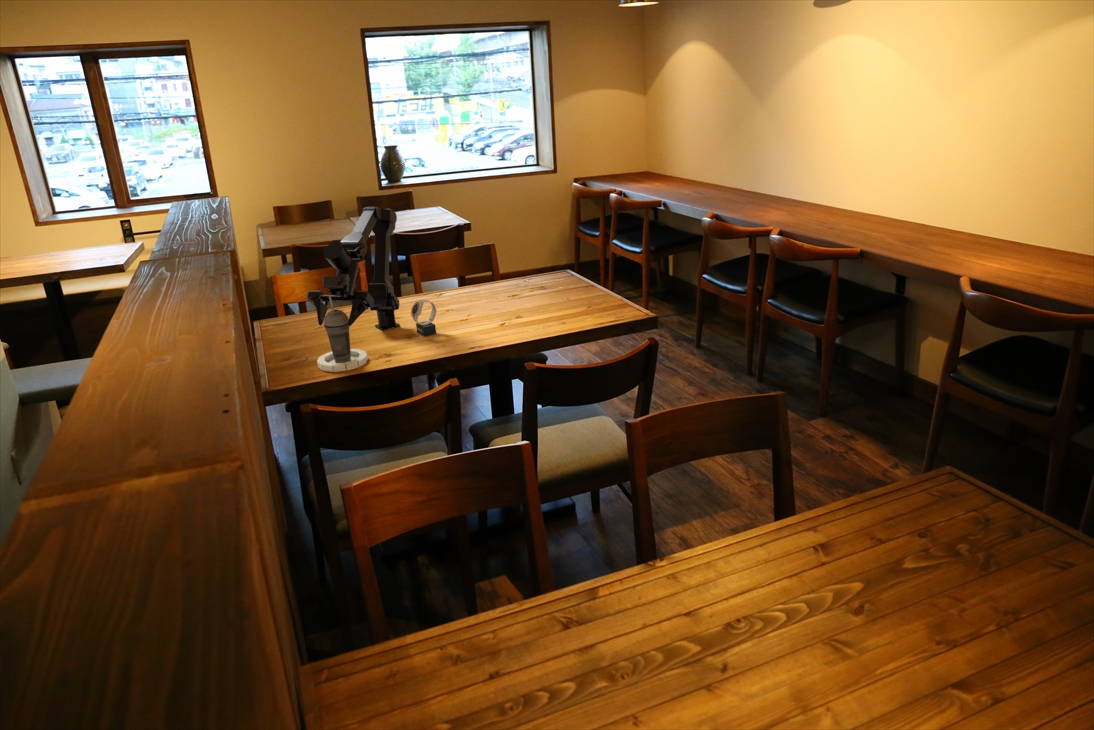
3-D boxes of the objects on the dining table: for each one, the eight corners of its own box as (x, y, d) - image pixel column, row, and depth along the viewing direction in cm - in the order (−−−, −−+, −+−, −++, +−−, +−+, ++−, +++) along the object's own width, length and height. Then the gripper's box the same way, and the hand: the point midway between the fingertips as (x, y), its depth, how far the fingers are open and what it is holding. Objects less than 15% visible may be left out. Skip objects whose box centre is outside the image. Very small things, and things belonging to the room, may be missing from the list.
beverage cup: (341, 367, 213) (330, 299, 206) (325, 363, 217) (313, 297, 210) (360, 359, 218) (350, 293, 211) (344, 355, 222) (334, 291, 215)
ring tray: (311, 362, 219) (310, 357, 218) (355, 350, 226) (354, 345, 226) (329, 375, 208) (328, 369, 208) (375, 362, 216) (374, 356, 215)
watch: (411, 333, 239) (407, 301, 235) (434, 328, 243) (430, 296, 239) (418, 338, 235) (414, 305, 231) (441, 332, 239) (437, 300, 235)
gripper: (303, 263, 212) (291, 311, 206) (364, 263, 208) (353, 312, 202) (321, 282, 222) (309, 329, 216) (379, 282, 218) (369, 330, 212)
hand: (334, 325), depth 212 cm, fingers open, 9 cm apart
